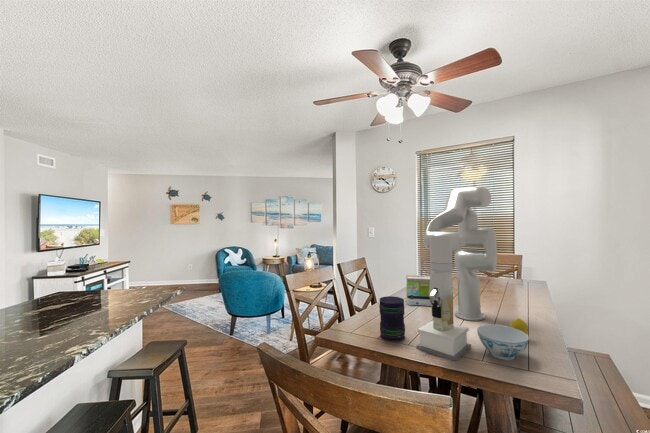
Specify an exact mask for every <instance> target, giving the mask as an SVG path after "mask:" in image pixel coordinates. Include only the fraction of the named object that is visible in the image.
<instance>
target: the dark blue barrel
mask: <svg viewBox="0 0 650 433" xmlns="http://www.w3.org/2000/svg"><path fill="white" fill-rule="evenodd" d="M379 314H380V316H379V317H380V322H379V331H380V332H379V333H380V338H381V339H382V340H384V341H386V342H389V343H390V342H392V343H399V342H402V341H404V340H405V339H406V324H405V300H404V298H402V297H399V296H388V295H387V296H382V297H380V298H379Z"/></svg>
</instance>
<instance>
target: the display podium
mask: <svg viewBox="0 0 650 433" xmlns="http://www.w3.org/2000/svg"><path fill="white" fill-rule="evenodd" d="M469 329H470V328H469V327H466V326H462V325H458V324H454V328H452V329H449V330H445V331H441V330H438V329H436V328H433V320H431V321H429V322H427V323H426V324H424V325H423V326H421V327H419V328H418V329H417V332H418V333H419V343H417V345H415V347H416V350H417V349H418V350H421V351H422V352H423V351H424V352H427V353H430V354H433V355H436V356H438V357H442V358H445V359H448V360H451V361H453V362H456V361H457V360H459V359H460V358H461V357H462V356H463V355H464V354H465V353H466V352H467V351H469V350H470V349H471V348H472V344H470V343H468V339H467V338H468V336H467V335H468V334H467V332H468V331H469Z"/></svg>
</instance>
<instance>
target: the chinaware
mask: <svg viewBox="0 0 650 433" xmlns="http://www.w3.org/2000/svg"><path fill="white" fill-rule="evenodd" d="M476 332H477V335H478V339H479V340H480V342H481V344H482V345H483V346H484V348H485V349H487V351H489V352H490V354H491V355H492V356H493V357H494V358H496V359H499V360H503V361H511V360H514V359H515V357H517V356H519V355H520V354H522V353H523V352H524V351H525V350H526V347H527V346H528V343H529V335H528V334H526V333H524V332H522V331H520V330H518V329H515V328H511V326H506V325H500V324H484V325H483V324H482V325H480V326H478V327H477V329H476Z"/></svg>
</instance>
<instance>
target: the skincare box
mask: <svg viewBox="0 0 650 433" xmlns="http://www.w3.org/2000/svg"><path fill="white" fill-rule="evenodd" d="M437 298H439V297H437ZM436 301H437V303H438V300H436ZM440 307H441V318H436V317H432V321H433V328H436V329H438V330H441V331H445V330H449V329H452V328H454V325H455V324H454V294H453V295H450V296H448V298H447V299H445V300H442V301H441V304H440Z"/></svg>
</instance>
